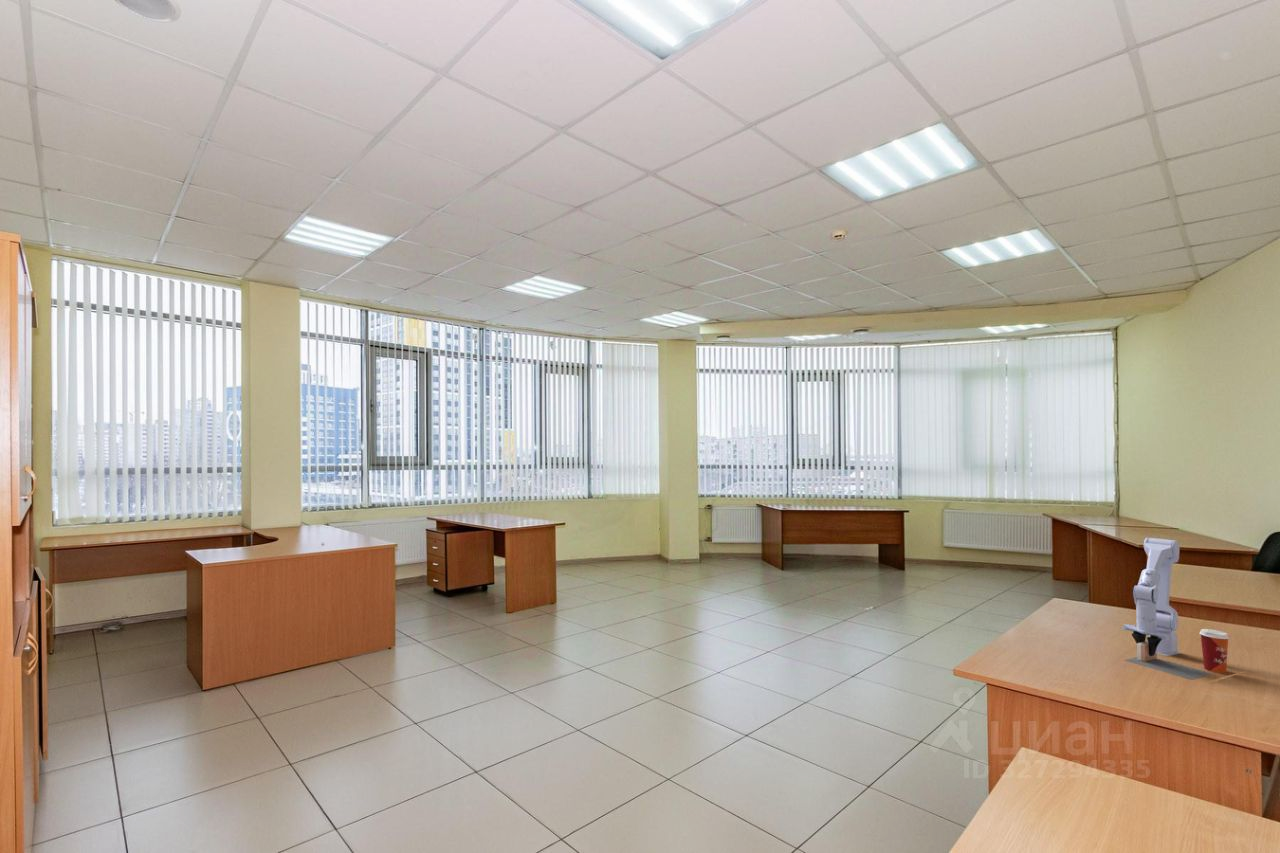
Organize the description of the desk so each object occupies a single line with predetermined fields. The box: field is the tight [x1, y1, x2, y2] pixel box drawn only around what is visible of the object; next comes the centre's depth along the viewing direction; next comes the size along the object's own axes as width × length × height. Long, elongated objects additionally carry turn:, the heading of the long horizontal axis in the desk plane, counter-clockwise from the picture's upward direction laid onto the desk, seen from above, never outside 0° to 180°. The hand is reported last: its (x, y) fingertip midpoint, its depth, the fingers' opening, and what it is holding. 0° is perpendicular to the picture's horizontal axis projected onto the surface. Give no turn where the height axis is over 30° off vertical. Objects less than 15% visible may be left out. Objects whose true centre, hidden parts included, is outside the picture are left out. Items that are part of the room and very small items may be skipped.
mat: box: [1124, 656, 1213, 681], centre depth 214 cm, size 14×20×1 cm
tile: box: [1136, 640, 1158, 662], centre depth 222 cm, size 8×2×6 cm, turn 114°
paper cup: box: [1199, 628, 1230, 674], centre depth 212 cm, size 8×8×14 cm
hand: (1147, 654), depth 222 cm, fingers closed on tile, 2 cm apart
